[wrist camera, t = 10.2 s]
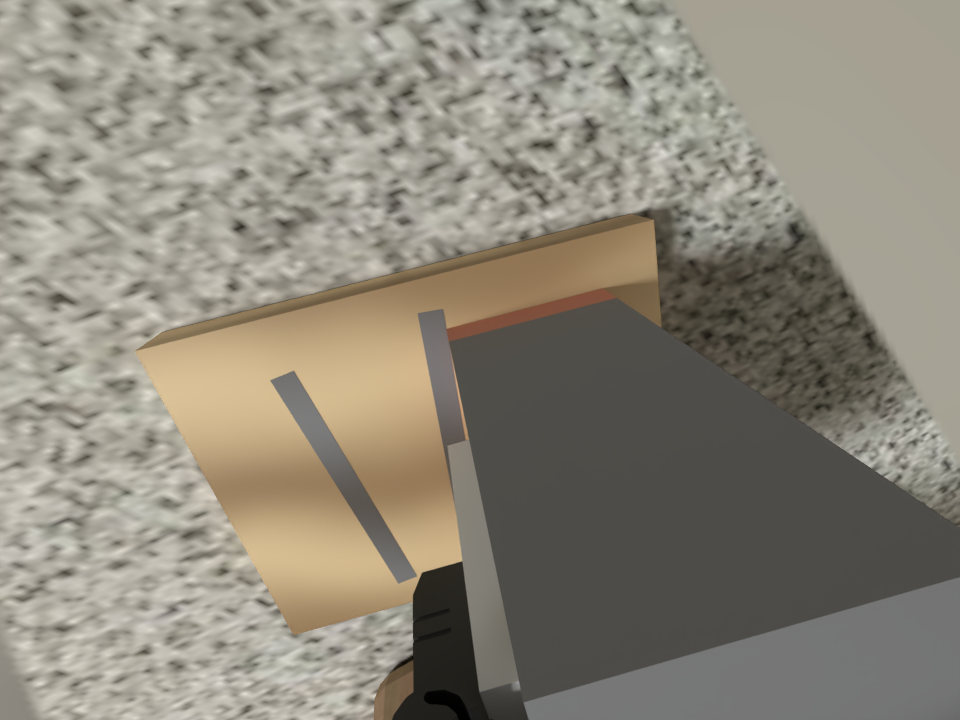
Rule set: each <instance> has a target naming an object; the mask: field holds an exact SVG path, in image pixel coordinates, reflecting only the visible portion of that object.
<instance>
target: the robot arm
mask: <svg viewBox="0 0 960 720" xmlns="http://www.w3.org/2000/svg"><path fill="white" fill-rule="evenodd" d="M448 454H449V462H450V469H451V477H452V485H453V493H454V500H455V508H456V516H457V523H458V531H459V539H460V546H461V554H462V561H461V562H458V563H454V564H451V565H447V566H444V567H440V568H436V569H433V570H429V571H426V572H422V574H421V576H420V579H419V581H418V584H417V586H416V589H415V591H414V593H413V621H414V623H413V640H414V643H413V693H411V694H410V695H409V696H407V697H406V698H405V700H404V701H403V702H402V704H401V705H400V706H399V708H398V709H397V711H396V712H395V713H394V715H393V718H392V720H529V719H528V716H527V713H526V709H525V706H524V703H523V698H522V693H521V688H520V683H519V679H518V674H517V669H516V664H515V659H514V654H513V650H512V645H511V640H510V635H509V630H508V625H507V621H506V616H505V611H504V606H503V601H502V596H501V592H500V587H499V582H498V577H497V572H496V567H495V563H494V558H493V553H492V548H491V543H490V538H489V534H488V529H487V524H486V519H485V514H484V509H483V505H482V500H481V495H480V490H479V485H478V480H477V476H476V471H475V466H474V461H473V456H472V451H471V447H470V442H469V440H466V441H463V442H459V443H455V444H452V445H448Z"/></svg>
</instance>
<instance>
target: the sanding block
mask: <svg viewBox="0 0 960 720" xmlns="http://www.w3.org/2000/svg"><path fill="white" fill-rule="evenodd" d="M446 330H447V335H448V340H449V345H450V350H451V355H452V359H453V364H454V369H455V374H456V379H457V384H458V388H459V393H460V398H461V403H462V408H463V413H464V417H465V422H466V427H467V432H468V437H469V442H470V447H471V451H472V456H473V461H474V466H475V471H476V476H477V480H478V485H479V490H480V495H481V500H482V505H483V509H484V514H485V519H486V524H487V529H488V534H489V538H490V543H491V548H492V553H493V558H494V563H495V567H496V572H497V577H498V582H499V587H500V592H501V596H502V601H503V606H504V611H505V616H506V621H507V625H508V630H509V635H510V640H511V645H512V650H513V654H514V659H515V664H516V669H517V674H518V679H519V683H520V688H521V693H522V698H523V703H524V706H525V709H526V713H527V716H528V719H529V720H960V528H959V527H958V526H956V525H955V524H953V523H952V522H950V521H949V520H947V519H946V518H944V517H943V516H941V515H940V514H938V513H937V512H935V511H934V510H932V509H931V508H929V507H928V506H926V505H925V504H923V503H922V502H920V501H919V500H917V499H916V498H914V497H913V496H911V495H910V494H908V493H907V492H905V491H904V490H902V489H901V488H899V487H898V486H896V485H895V484H894V483H892V482H891V481H889V480H888V479H886V478H885V477H883V476H882V475H880V474H879V473H877V472H876V471H874V470H873V469H871V468H870V467H868V466H867V465H865V464H864V463H862V462H861V461H859V460H858V459H856V458H855V457H853V456H852V455H850V454H849V453H847V452H846V451H844V450H843V449H841V448H840V447H838V446H837V445H835V444H834V443H832V442H831V441H829V440H828V439H826V438H825V437H823V436H822V435H820V434H819V433H817V432H816V431H815V430H813V429H812V428H810V427H809V426H807V425H806V424H804V423H803V422H801V421H800V420H798V419H797V418H795V417H794V416H792V415H791V414H789V413H788V412H786V411H785V410H783V409H782V408H780V407H779V406H777V405H776V404H774V403H773V402H771V401H770V400H768V399H767V398H765V397H764V396H762V395H761V394H759V393H758V392H756V391H755V390H753V389H752V388H750V387H749V386H747V385H746V384H744V383H743V382H741V381H740V380H738V379H737V378H735V377H734V376H733V375H731V374H730V373H728V372H727V371H725V370H724V369H722V368H721V367H719V366H718V365H716V364H715V363H713V362H712V361H710V360H709V359H707V358H706V357H704V356H703V355H701V354H700V353H698V352H697V351H695V350H694V349H692V348H691V347H689V346H688V345H686V344H685V343H683V342H682V341H680V340H679V339H677V338H676V337H674V336H673V335H671V334H670V333H668V332H667V331H665V330H664V329H662V328H661V327H659V326H658V325H656V324H655V323H653V322H652V321H651V320H649V319H648V318H646V317H645V316H643V315H642V314H640V313H639V312H637V311H636V310H634V309H633V308H631V307H630V306H628V305H627V304H625V303H624V302H622V301H621V300H619V299H618V298H616V297H615V296H613V295H612V294H610V293H609V292H607V291H606V290H604V289H603V288H602V289H599V290H595V291H591V292H587V293H583V294H579V295H575V296H572V297H568V298H564V299H560V300H556V301H552V302H548V303H545V304H541V305H537V306H533V307H529V308H525V309H522V310H518V311H514V312H510V313H506V314H502V315H498V316H495V317H491V318H487V319H483V320H479V321H475V322H471V323H468V324H464V325H460V326H456V327H452V328H448V329H446Z"/></svg>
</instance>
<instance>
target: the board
mask: <svg viewBox="0 0 960 720" xmlns="http://www.w3.org/2000/svg"><path fill="white" fill-rule="evenodd" d="M602 288H603V289H604V290H606V291H607V292H609V293H610V294H612V295H613V296H615V297H616V298H618V299H619V300H621V301H622V302H624V303H625V304H627V305H628V306H630V307H631V308H633V309H634V310H636V311H637V312H639V313H640V314H642V315H643V316H645V317H646V318H648V319H649V320H651V321H652V322H653V323H655V324H656V325H658V326H659V327H661V328H662V323H661V310H660V296H659V282H658V269H657V255H656V241H655V228H654V219H650V218H645V217H641V216H637V215H633V214H628V215H624V216H620V217H616V218H612V219H608V220H604V221H600V222H596V223H593V224H589V225H585V226H581V227H577V228H573V229H569V230H565V231H561V232H557V233H553V234H549V235H545V236H541V237H537V238H533V239H529V240H525V241H521V242H517V243H513V244H509V245H505V246H501V247H498V248H494V249H490V250H486V251H482V252H478V253H474V254H470V255H466V256H462V257H458V258H454V259H450V260H446V261H442V262H438V263H434V264H430V265H426V266H422V267H418V268H414V269H410V270H407V271H403V272H399V273H395V274H391V275H387V276H383V277H379V278H375V279H371V280H367V281H363V282H359V283H355V284H351V285H347V286H343V287H339V288H335V289H331V290H327V291H323V292H319V293H315V294H312V295H308V296H304V297H300V298H296V299H292V300H288V301H284V302H280V303H276V304H272V305H268V306H264V307H260V308H256V309H252V310H248V311H244V312H240V313H236V314H232V315H228V316H224V317H221V318H217V319H213V320H209V321H205V322H201V323H197V324H193V325H189V326H185V327H181V328H177V329H173V330H169V331H165V332H162V333H160V334H159V335H157V336H156V337H155V338H153V339H152V340H150V341H149V342H147V343H146V344H144V345H143V346H142V347H140V348H139V349H137V350H136V351H135V352H136V354H137V356H138V358H139V360H140V361H141V363H142V365H143V367H144V368H145V370H146V372H147V374H148V376H149V377H150V379H151V381H152V383H153V385H154V386H155V388H156V390H157V392H158V394H159V395H160V397H161V399H162V401H163V402H164V404H165V406H166V408H167V410H168V411H169V413H170V415H171V417H172V419H173V420H174V422H175V424H176V426H177V427H178V429H179V431H180V433H181V435H182V436H183V438H184V440H185V442H186V444H187V445H188V447H189V449H190V451H191V452H192V454H193V456H194V458H195V460H196V461H197V463H198V465H199V467H200V469H201V470H202V472H203V474H204V476H205V477H206V479H207V481H208V483H209V485H210V486H211V488H212V490H213V492H214V494H215V495H216V497H217V499H218V501H219V502H220V504H221V506H222V508H223V510H224V511H225V513H226V515H227V517H228V519H229V520H230V522H231V524H232V526H233V527H234V529H235V531H236V533H237V535H238V536H239V538H240V540H241V542H242V544H243V545H244V547H245V549H246V551H247V552H248V554H249V556H250V558H251V560H252V561H253V563H254V565H255V567H256V569H257V570H258V572H259V574H260V576H261V577H262V579H263V581H264V583H265V585H266V586H267V588H268V590H269V592H270V594H271V595H272V597H273V599H274V601H275V602H276V604H277V606H278V608H279V610H280V611H281V613H282V615H283V617H284V619H285V620H286V622H287V624H288V626H289V627H290V629H291V631H292V633H293V635H295V634H299V633H303V632H306V631H310V630H313V629H317V628H321V627H324V626H328V625H331V624H335V623H338V622H342V621H346V620H349V619H353V618H356V617H360V616H364V615H367V614H371V613H374V612H378V611H381V610H385V609H389V608H392V607H396V606H399V605H403V604H407V603H410V602H413V593H414V591H415V589H416V586H417V584H418V581H419V579H420V576H421V574H422V572H426V571H429V570H433V569H436V568H440V567H444V566H447V565H451V564H454V563H458V562H461V561H462V554H461V546H460V539H459V531H458V523H457V516H456V508H455V500H454V493H453V485H452V477H451V469H450V462H449V454H448V445H452V444H455V443H459V442H463V441H466V440H469V437H468V432H467V427H466V422H465V417H464V413H463V408H462V403H461V398H460V393H459V388H458V384H457V379H456V374H455V369H454V364H453V359H452V355H451V350H450V345H449V340H448V335H447V330H446V329H448V328H452V327H456V326H460V325H464V324H468V323H471V322H475V321H479V320H483V319H487V318H491V317H495V316H498V315H502V314H506V313H510V312H514V311H518V310H522V309H525V308H529V307H533V306H537V305H541V304H545V303H548V302H552V301H556V300H560V299H564V298H568V297H572V296H575V295H579V294H583V293H587V292H591V291H595V290H599V289H602Z"/></svg>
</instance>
